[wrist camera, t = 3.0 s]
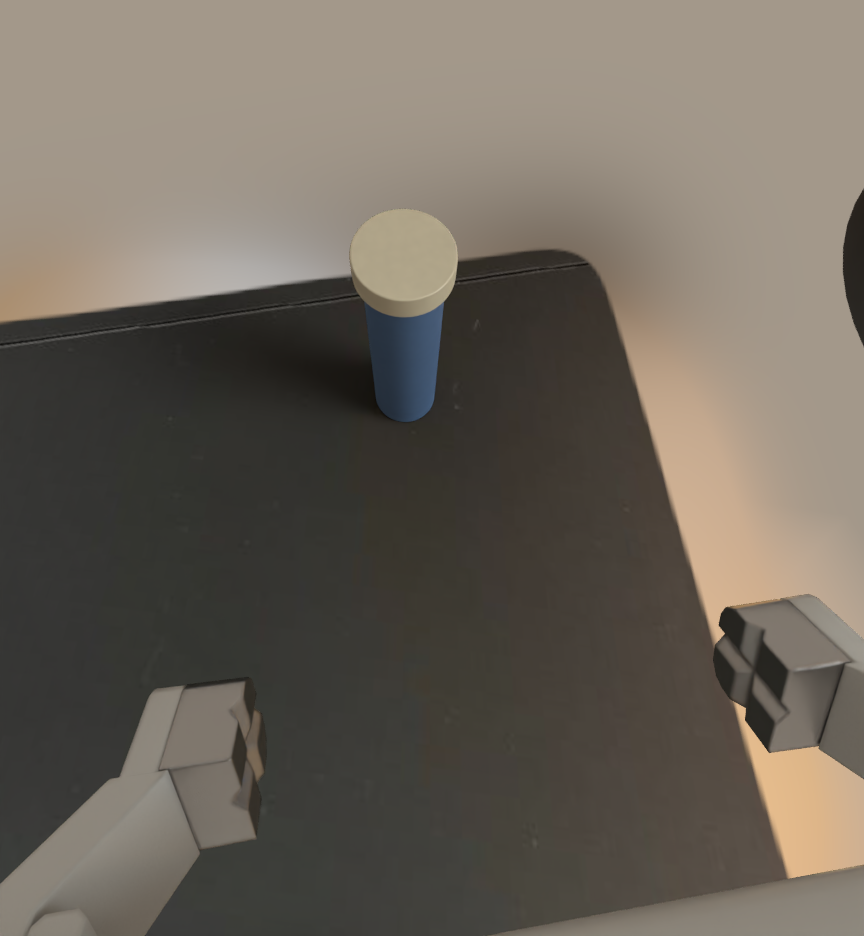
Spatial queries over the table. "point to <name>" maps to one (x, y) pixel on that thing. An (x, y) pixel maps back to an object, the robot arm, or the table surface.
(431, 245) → the peg
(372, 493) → the table surface
